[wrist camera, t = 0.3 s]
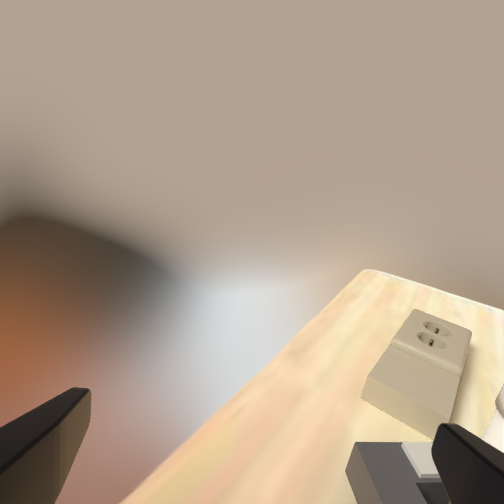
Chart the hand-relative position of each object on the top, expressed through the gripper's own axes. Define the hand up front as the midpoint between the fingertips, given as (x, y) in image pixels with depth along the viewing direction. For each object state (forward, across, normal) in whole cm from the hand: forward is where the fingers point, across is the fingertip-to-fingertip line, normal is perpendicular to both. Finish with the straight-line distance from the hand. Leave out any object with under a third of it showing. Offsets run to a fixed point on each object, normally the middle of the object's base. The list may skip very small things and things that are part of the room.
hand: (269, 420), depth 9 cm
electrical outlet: (+26, -22, +14) cm, 36 cm away
